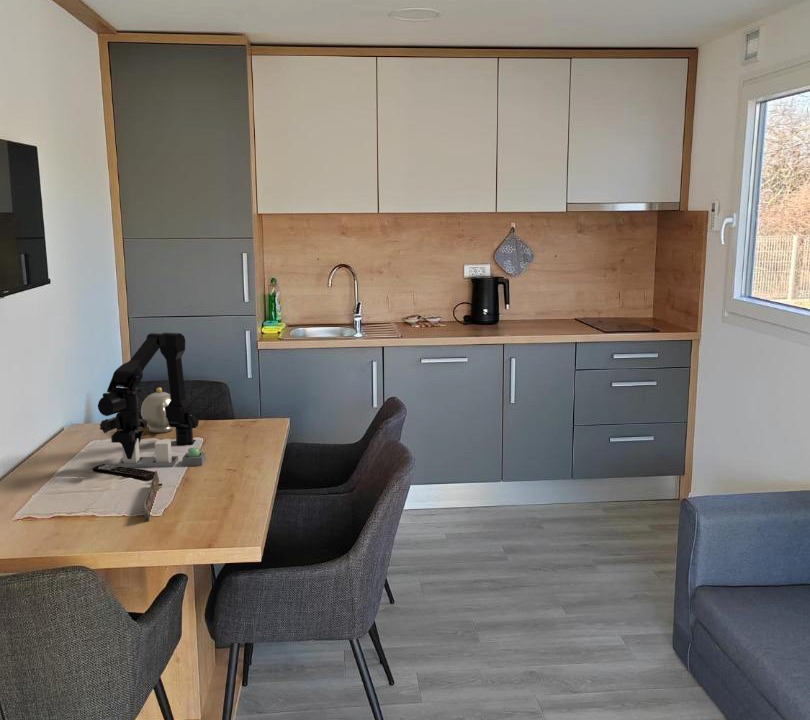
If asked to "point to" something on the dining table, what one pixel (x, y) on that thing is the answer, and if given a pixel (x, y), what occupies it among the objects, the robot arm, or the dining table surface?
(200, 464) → the grey square tube
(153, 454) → the blue-grey square tray
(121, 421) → the robot arm
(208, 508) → the dining table surface
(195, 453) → the button
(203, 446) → the dining table surface
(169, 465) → the tray
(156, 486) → the incense holder
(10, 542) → the dining table surface
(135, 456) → the block
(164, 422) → the teapot
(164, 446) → the seated billet
